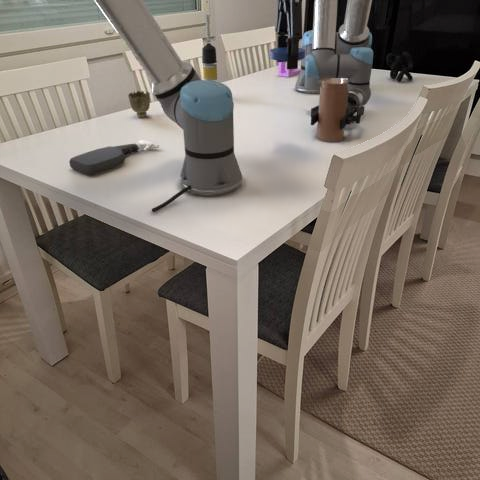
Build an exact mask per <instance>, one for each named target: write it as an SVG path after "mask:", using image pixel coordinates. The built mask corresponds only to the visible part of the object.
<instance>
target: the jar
mask: <svg viewBox="0 0 480 480" xmlns="http://www.w3.org/2000/svg"><path fill="white" fill-rule="evenodd" d="M348 83H349V82H348V79H347V78H327V79H323V80H322V85H321V86H320V94H319V99H318V100H319V101H318V105H319V111H318V122H317V123H316V124H317V125H316V139H317V140H319V141H320V142H321V141H322V142H326V143H336V142H340V141H343V140H344V136H345V128H346V126H345V127H344V128H343V129H340V120H341V119H342V118H343V117H344V116H345V115H346V110H347V100H348V91H349V86H348Z"/></svg>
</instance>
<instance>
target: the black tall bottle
mask: <svg viewBox="0 0 480 480" xmlns="http://www.w3.org/2000/svg"><path fill="white" fill-rule="evenodd" d="M210 17H211V14H204V18H205V27H206V29H205V30H206V31H205V33H206V39H207V40H206V42H207V43H206V45H204V46H202V49H201V50H202V51H201V52H202V54H201V55H202V57H201V58H202V61H201V63H202V71H203V72H202V73H203V74H202V75H203V80H210V81H214V82H216V80H218V64H216V63H218V61H217V48H216V47H215V46H214V45H212V43H210V42H211V40H210V39H211V31H210V29H211V28H210Z"/></svg>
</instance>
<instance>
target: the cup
mask: <svg viewBox="0 0 480 480" xmlns="http://www.w3.org/2000/svg"><path fill="white" fill-rule="evenodd" d="M150 95H151V94H150V91H146V93H145V91H143V90H142V91H140V90H137V91H133V92H130V93H127V96H128V100H129V104H130V107H131V109H132V111H133V112H135V113H136V114H135V115H136V116H137V117H138V118H144V117H146V116H147V115H148V113H147V112H148V111H149V110H150V105H151V103H150V102H151V101H150V100H151V97H150Z"/></svg>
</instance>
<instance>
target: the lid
mask: <svg viewBox="0 0 480 480" xmlns="http://www.w3.org/2000/svg"><path fill="white" fill-rule="evenodd" d="M304 58H305V49H302V47H299V51H298V61H301V60H302V59H304ZM269 59H270V60H272V61H277V60H278V61H287V47H281V48H277V47H274V48H271V49H270V50H269Z"/></svg>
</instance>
